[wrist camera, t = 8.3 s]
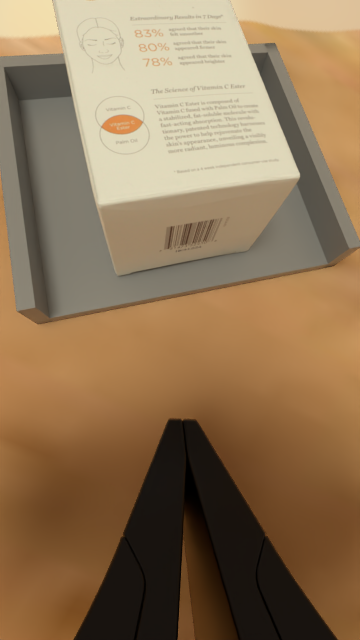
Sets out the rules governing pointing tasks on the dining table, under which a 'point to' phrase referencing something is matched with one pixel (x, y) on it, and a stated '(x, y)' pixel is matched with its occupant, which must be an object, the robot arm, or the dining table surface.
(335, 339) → the dining table surface
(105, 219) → the small box
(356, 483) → the dining table surface
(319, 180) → the tray
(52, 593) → the dining table surface
